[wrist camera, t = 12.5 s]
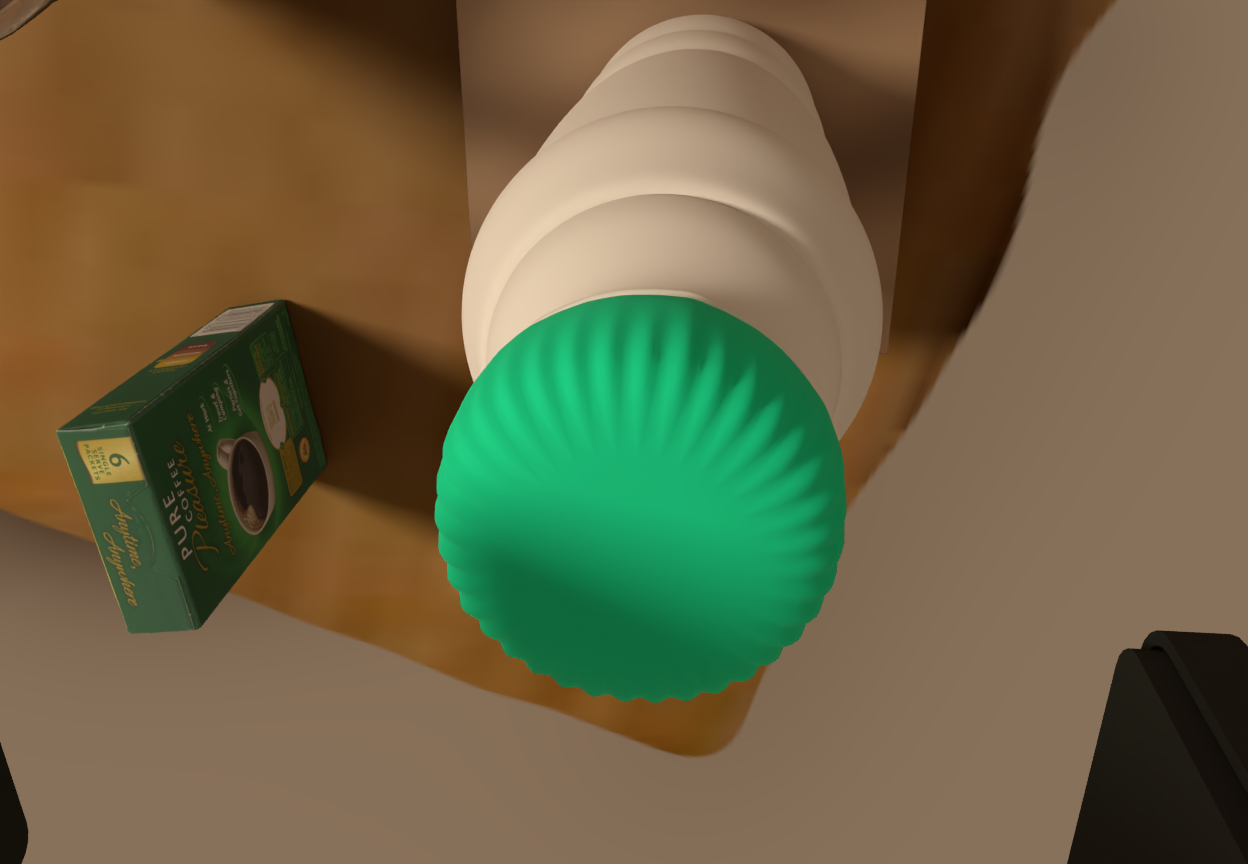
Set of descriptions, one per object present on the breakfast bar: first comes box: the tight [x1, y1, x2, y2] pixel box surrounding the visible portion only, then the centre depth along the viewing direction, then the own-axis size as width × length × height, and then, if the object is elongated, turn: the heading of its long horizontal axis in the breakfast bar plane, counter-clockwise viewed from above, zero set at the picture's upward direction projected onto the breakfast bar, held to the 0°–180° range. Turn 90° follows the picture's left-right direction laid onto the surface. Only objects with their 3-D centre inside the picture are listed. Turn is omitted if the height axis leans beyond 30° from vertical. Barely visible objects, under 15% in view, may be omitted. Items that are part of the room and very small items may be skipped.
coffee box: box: [56, 300, 327, 633], centre depth 41 cm, size 8×3×13 cm, turn 7°
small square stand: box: [456, 0, 926, 354], centre depth 38 cm, size 14×14×7 cm
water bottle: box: [435, 15, 883, 703], centre depth 23 cm, size 7×7×25 cm
